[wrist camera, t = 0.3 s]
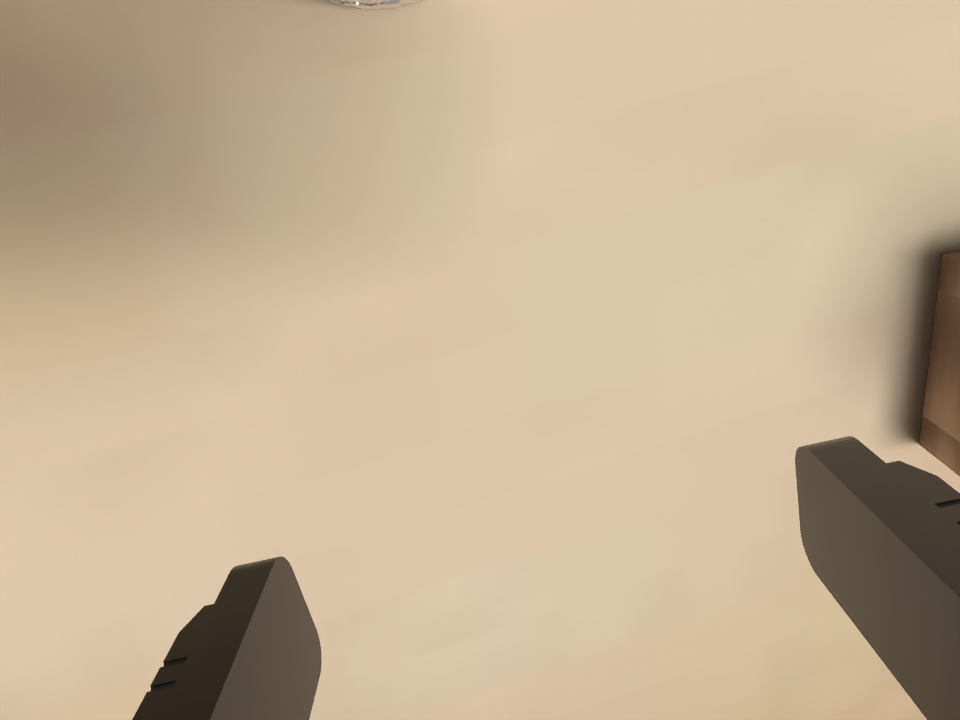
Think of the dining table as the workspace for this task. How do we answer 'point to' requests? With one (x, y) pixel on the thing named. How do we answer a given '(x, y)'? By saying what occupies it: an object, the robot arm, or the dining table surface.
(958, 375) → the holder
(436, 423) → the dining table surface
